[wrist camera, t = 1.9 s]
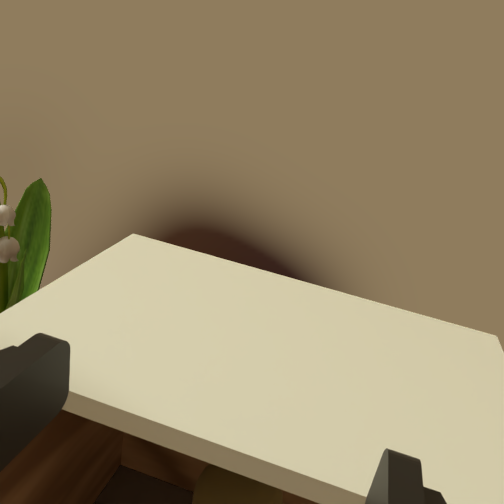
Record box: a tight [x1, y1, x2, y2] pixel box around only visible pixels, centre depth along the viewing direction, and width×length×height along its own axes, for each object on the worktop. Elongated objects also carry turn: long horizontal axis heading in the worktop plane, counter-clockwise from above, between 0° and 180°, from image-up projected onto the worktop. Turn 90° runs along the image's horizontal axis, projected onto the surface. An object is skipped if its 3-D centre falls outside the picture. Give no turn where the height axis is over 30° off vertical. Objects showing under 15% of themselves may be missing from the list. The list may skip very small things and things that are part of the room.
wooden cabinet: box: [0, 234, 504, 504], centre depth 27 cm, size 24×15×20 cm, turn 75°
